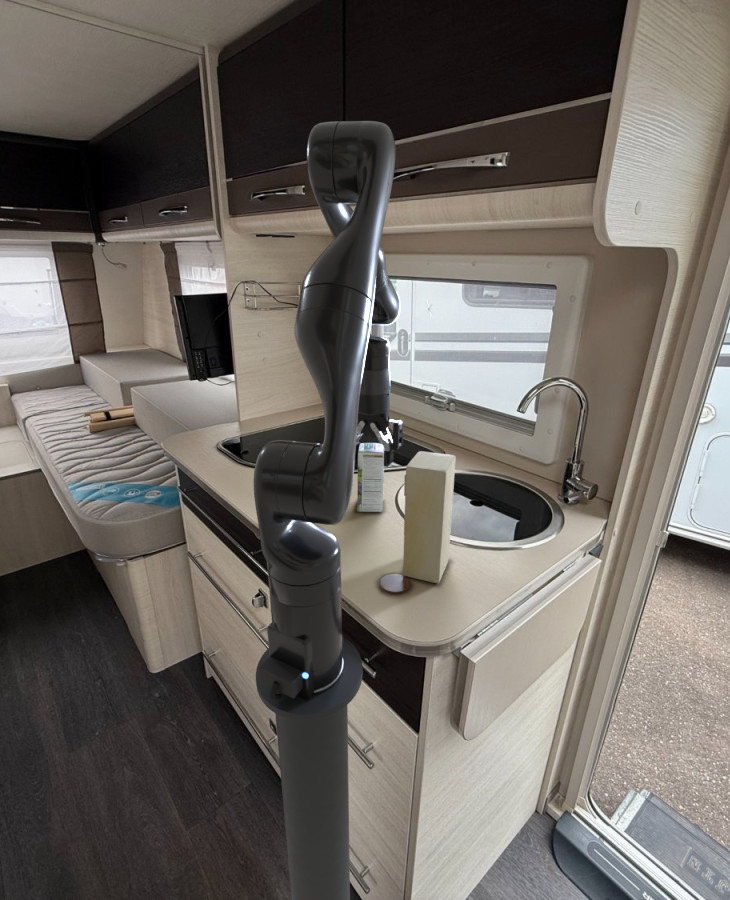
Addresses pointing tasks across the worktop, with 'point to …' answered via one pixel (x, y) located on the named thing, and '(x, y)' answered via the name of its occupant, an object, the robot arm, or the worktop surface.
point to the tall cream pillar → (428, 515)
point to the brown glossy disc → (394, 583)
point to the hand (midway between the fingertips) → (371, 462)
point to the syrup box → (370, 477)
